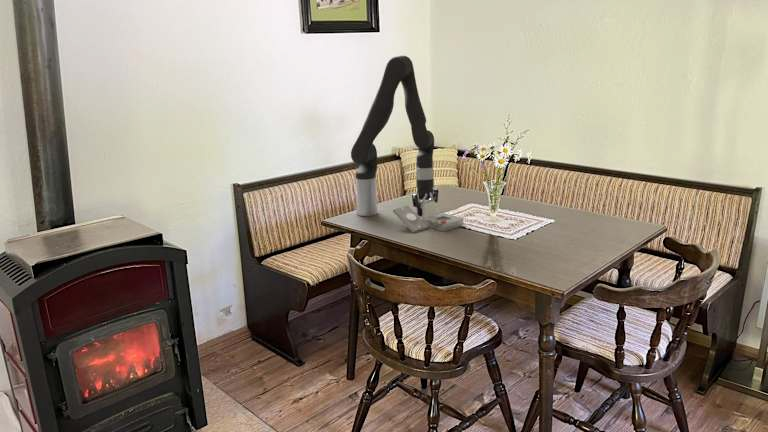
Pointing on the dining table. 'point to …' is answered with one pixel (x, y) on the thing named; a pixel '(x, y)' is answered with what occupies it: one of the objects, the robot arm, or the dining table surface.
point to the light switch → (410, 219)
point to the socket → (443, 222)
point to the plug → (427, 209)
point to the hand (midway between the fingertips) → (425, 214)
